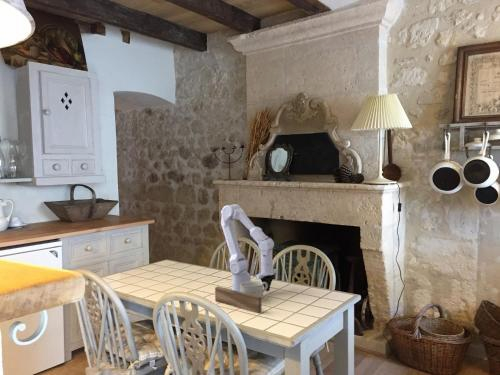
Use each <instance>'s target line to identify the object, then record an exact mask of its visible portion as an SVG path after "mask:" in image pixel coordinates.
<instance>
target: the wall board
mask: <svg viewBox="0 0 500 375" xmlns="http://www.w3.org/2000/svg"><path fill="white" fill-rule="evenodd" d="M231 289H232V288H226V287H223V286H216V287H214V293H215V294H214V295H215V296H214V297H215V299H214V300H215V302H216V303H221V304H225V305H228V306H230V307H234V308H238V309H242V310H245V311H247V312H248V311H249V312H252V313H255V314H260V313H262V297H259V296H255V295H251V294H247V293H243V292H239V291H235V290H231Z"/></svg>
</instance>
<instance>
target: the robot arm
mask: <svg viewBox="0 0 500 375" xmlns="http://www.w3.org/2000/svg"><path fill="white" fill-rule="evenodd" d="M220 214H221V219H220V225H221V228H222V231H223V236H224V237H225V241H226V244H227V248H228V251H229V255H230V258H229V260H228V261H229V262H228V263H229V271H230V273H231V278H232V282H231V283H232V288H230V289H231V290H235V291H239V292H241V286H240V284H241V283H243V282H247V281H252V280H251V274H250V273H249V272H248V271H247V270H248V269H249V261H248V260H247V259H246V256H245V255H244V254H243V253H242V251H241V249H240V245H239V242H238V238H237V235H236V232H235V229H234V225H233V223H234V222H235V220H237V221H240V223H242V225H244V227H245V228H246V229H247V230H249V235H250V236H251V238H252V239H253V240H254V242H256V244H257V245H258V249H259V251H260V272H259V273H258V274H256V275H255V279H257V280H260V282H266V283H267V284H268V288H267V289H266V290H265V291H264V292H269V291H270V289H271V285H272V282H273V280H274V275H275V274H278V269H276V268H273V249H274V247H275V242H274V240H273V239H272V238H271V237H269V236H268V235H266V234H265V233H264V232H263V229H262V228H261V227H259V226H255V225H254V223H253V222H252V220H250V218H249V216H247V214H246V213H245V211H244V209H243V208H242V207H241V206H240V204H237V203H234V204H229V205H228V204H227V205H225V206H223V207H222V209H221V211H220ZM264 288H265V284H263V289H264Z"/></svg>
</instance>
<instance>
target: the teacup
mask: <svg viewBox="0 0 500 375" xmlns="http://www.w3.org/2000/svg"><path fill="white" fill-rule="evenodd" d="M263 284H265V288H264V286H263ZM240 286H241V292H243V293H247V294H251V295H255V296H259V297H261V298H263V295H264V292H266V291H265V290H266V289H267V288H268V284H267V283H266V282H262V281H259V280H251V281H247V282H243V283H241V284H240Z"/></svg>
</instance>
